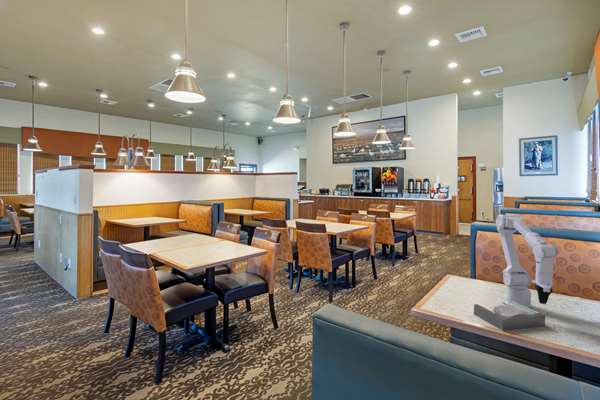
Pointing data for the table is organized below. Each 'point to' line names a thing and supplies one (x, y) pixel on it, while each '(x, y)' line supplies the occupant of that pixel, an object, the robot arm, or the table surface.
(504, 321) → the frame
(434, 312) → the table surface
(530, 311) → the sliding jaw
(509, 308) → the stone block
